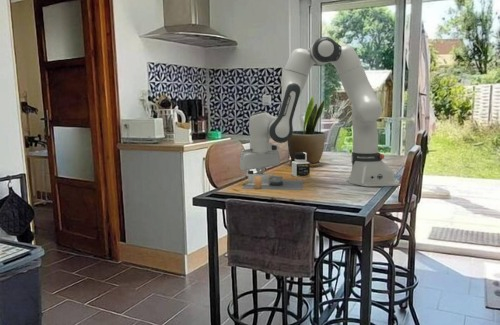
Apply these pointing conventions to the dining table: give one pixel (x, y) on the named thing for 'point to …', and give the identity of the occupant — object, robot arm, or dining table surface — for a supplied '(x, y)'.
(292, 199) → the dining table surface
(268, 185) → the base plate
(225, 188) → the dining table surface
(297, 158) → the medicine bottle
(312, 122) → the potted plant
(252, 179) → the crank
